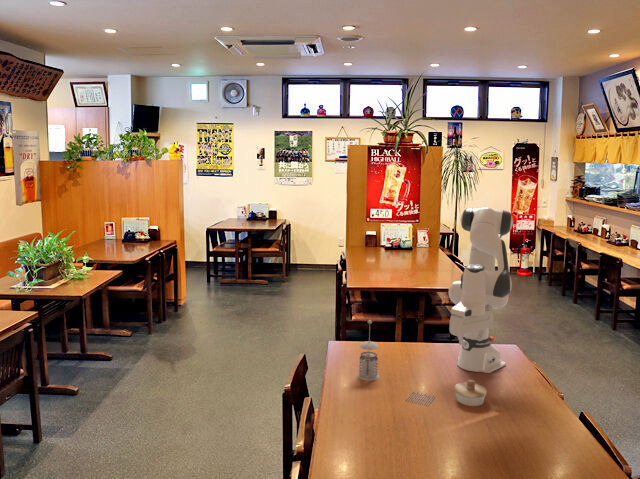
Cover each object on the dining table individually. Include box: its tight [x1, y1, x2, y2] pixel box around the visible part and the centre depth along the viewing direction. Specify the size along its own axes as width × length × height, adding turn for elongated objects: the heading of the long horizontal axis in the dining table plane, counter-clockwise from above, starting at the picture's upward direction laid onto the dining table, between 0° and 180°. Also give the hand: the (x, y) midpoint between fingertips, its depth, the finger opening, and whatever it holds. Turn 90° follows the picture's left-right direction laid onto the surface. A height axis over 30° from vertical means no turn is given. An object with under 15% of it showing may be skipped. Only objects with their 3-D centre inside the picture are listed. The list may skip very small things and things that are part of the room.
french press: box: [356, 319, 380, 382], centre depth 239 cm, size 10×12×25 cm
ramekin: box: [454, 390, 487, 407], centre depth 217 cm, size 11×11×5 cm
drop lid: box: [454, 379, 488, 398], centre depth 216 cm, size 12×12×4 cm
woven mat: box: [406, 391, 436, 407], centre depth 217 cm, size 10×11×2 cm
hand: (470, 342), depth 214 cm, fingers open, 8 cm apart
